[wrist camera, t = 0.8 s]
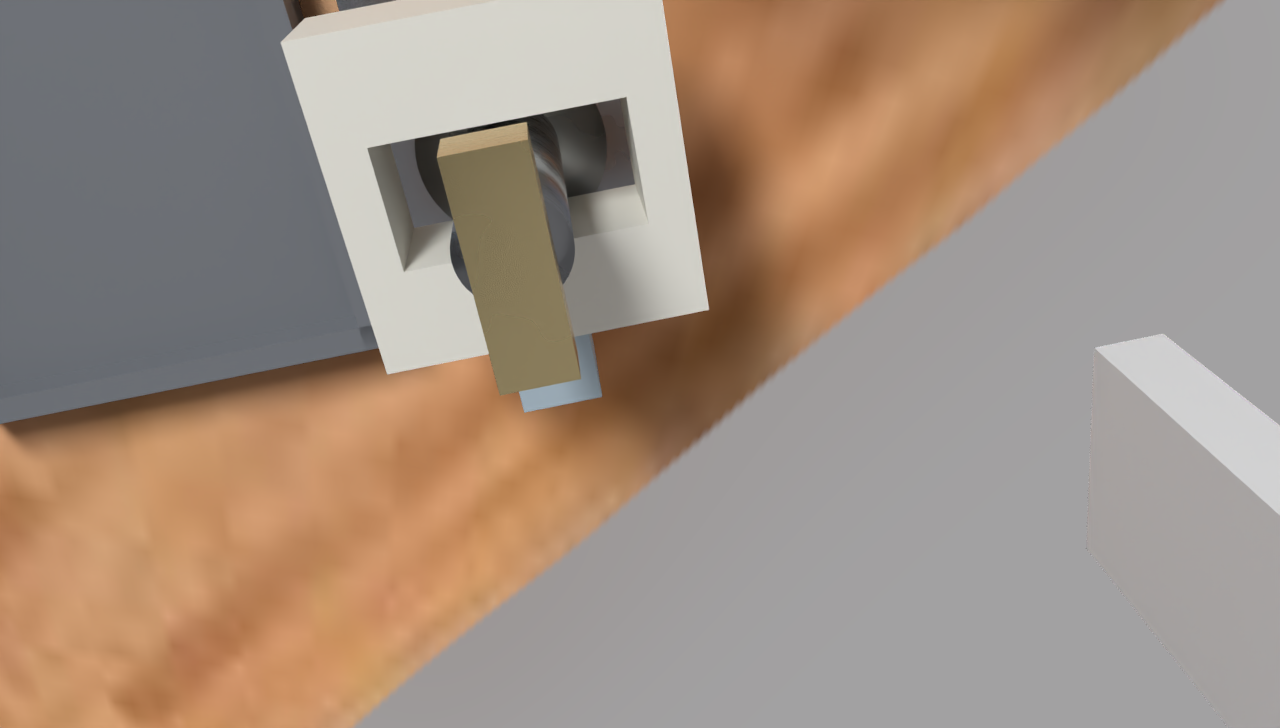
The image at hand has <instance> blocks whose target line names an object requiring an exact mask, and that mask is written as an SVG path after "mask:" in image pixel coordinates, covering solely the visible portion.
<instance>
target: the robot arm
mask: <svg viewBox="0 0 1280 728" xmlns="http://www.w3.org/2000/svg"><path fill="white" fill-rule="evenodd" d="M1086 549H1087V550H1088V551H1089V553H1090V554H1091V555H1092V556H1093V558H1094V559H1095V560H1096V561H1097V563H1098V564H1099V565H1100V567H1101V568H1102V569H1103V570H1104V572H1105V573H1106V574H1107V575H1108V577H1109V578H1110V579H1111V580H1112V582H1113V583H1114V584H1115V585H1116V587H1117V588H1118V589H1119V590H1120V592H1121V593H1122V594H1123V596H1124V597H1125V598H1126V599H1127V601H1128V602H1129V603H1130V604H1131V606H1132V607H1133V608H1134V609H1135V611H1136V612H1137V613H1138V614H1139V616H1140V617H1141V618H1142V620H1143V621H1144V622H1145V623H1146V625H1147V626H1148V627H1149V628H1150V629H1151V631H1152V632H1153V633H1154V635H1155V636H1156V637H1157V638H1158V640H1159V641H1160V642H1161V643H1162V645H1163V646H1164V647H1165V649H1166V650H1167V651H1168V652H1169V654H1170V655H1171V656H1172V657H1173V659H1174V660H1175V661H1176V662H1177V664H1178V665H1179V666H1180V667H1181V669H1182V670H1183V671H1184V672H1185V674H1186V675H1187V676H1188V677H1189V679H1190V680H1191V681H1192V683H1193V684H1194V685H1195V686H1196V688H1197V689H1198V690H1199V691H1200V693H1201V694H1202V695H1203V696H1204V698H1205V699H1206V700H1207V701H1208V703H1209V704H1210V705H1211V707H1212V708H1213V709H1214V710H1215V711H1216V713H1217V714H1218V715H1219V717H1220V718H1221V719H1222V720H1223V722H1224V723H1225V724H1226V725H1227V727H1228V728H1280V425H1278V424H1277V423H1276V422H1275V421H1273V420H1272V419H1271V418H1270V417H1268V416H1267V415H1266V414H1264V413H1263V412H1262V411H1261V410H1259V409H1258V408H1257V407H1255V406H1254V405H1253V404H1252V403H1250V402H1249V401H1248V400H1247V399H1245V398H1244V397H1243V396H1242V395H1240V394H1239V393H1238V392H1236V391H1235V390H1234V389H1233V388H1231V387H1230V386H1229V385H1227V384H1226V383H1225V382H1224V381H1222V380H1221V379H1220V378H1219V377H1217V376H1216V375H1215V374H1214V373H1212V372H1211V371H1210V370H1208V369H1207V368H1206V367H1205V366H1203V365H1202V364H1201V363H1200V362H1198V361H1197V360H1196V359H1195V358H1193V357H1192V356H1191V355H1189V354H1188V353H1187V352H1186V351H1184V350H1183V349H1182V348H1181V347H1179V346H1178V345H1177V344H1175V343H1174V342H1173V341H1172V340H1170V339H1169V338H1168V337H1166V336H1165V335H1164V334H1160V335H1155V336H1150V337H1145V338H1140V339H1135V340H1131V341H1125V342H1120V343H1115V344H1111V345H1106V346H1101V347H1096V348H1094V366H1093V392H1092V417H1091V442H1090V469H1089V493H1088V517H1087V543H1086Z"/></svg>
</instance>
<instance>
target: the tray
mask: <svg viewBox="0 0 1280 728" xmlns="http://www.w3.org/2000/svg"><path fill="white" fill-rule="evenodd" d="M303 20H304V17H303V14H302V11H301V8H300V4H299V1H298V0H0V424H2V423H7V422H12V421H17V420H22V419H27V418H32V417H37V416H42V415H47V414H52V413H57V412H62V411H67V410H72V409H77V408H82V407H87V406H92V405H97V404H102V403H107V402H112V401H117V400H122V399H127V398H132V397H137V396H142V395H147V394H152V393H157V392H162V391H167V390H172V389H177V388H182V387H187V386H192V385H197V384H202V383H207V382H212V381H217V380H222V379H227V378H232V377H237V376H242V375H247V374H252V373H257V372H262V371H267V370H272V369H277V368H282V367H287V366H292V365H297V364H302V363H307V362H312V361H317V360H322V359H327V358H332V357H337V356H342V355H347V354H352V353H357V352H362V351H367V350H372V349H377V348H379V347H378V344H377V341H376V338H375V335H374V332H373V328H372V325H371V322H370V319H369V316H368V313H367V310H366V307H365V304H364V300H363V297H362V294H361V291H360V288H359V285H358V282H357V279H356V276H355V272H354V269H353V266H352V263H351V260H350V257H349V254H348V251H347V248H346V245H345V241H344V238H343V235H342V232H341V229H340V226H339V223H338V220H337V217H336V213H335V210H334V207H333V204H332V201H331V198H330V195H329V192H328V189H327V185H326V182H325V179H324V176H323V173H322V170H321V167H320V164H319V161H318V157H317V154H316V151H315V148H314V145H313V142H312V139H311V136H310V133H309V130H308V126H307V123H306V120H305V117H304V114H303V111H302V108H301V105H300V102H299V98H298V95H297V92H296V89H295V86H294V83H293V80H292V77H291V74H290V70H289V67H288V64H287V61H286V58H285V55H284V52H283V49H282V46H281V41H282V40H283V39H284V38H285V37H286V36H287V35H288V34H289V33H290V32H291V31H292V30H293V29H294V28H296V27H297V26H298V25H299V24H300V23H301V22H302V21H303Z"/></svg>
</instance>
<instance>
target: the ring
mask: <svg viewBox="0 0 1280 728" xmlns="http://www.w3.org/2000/svg"><path fill="white" fill-rule="evenodd" d="M281 46H282V49H283V52H284V55H285V58H286V61H287V64H288V67H289V70H290V74H291V77H292V80H293V83H294V86H295V89H296V92H297V95H298V98H299V102H300V105H301V108H302V111H303V114H304V117H305V120H306V123H307V126H308V130H309V133H310V136H311V139H312V142H313V145H314V148H315V151H316V154H317V157H318V161H319V164H320V167H321V170H322V173H323V176H324V179H325V182H326V185H327V189H328V192H329V195H330V198H331V201H332V204H333V207H334V210H335V213H336V217H337V220H338V223H339V226H340V229H341V232H342V235H343V238H344V241H345V245H346V248H347V251H348V254H349V257H350V260H351V263H352V266H353V269H354V272H355V276H356V279H357V282H358V285H359V288H360V291H361V294H362V297H363V300H364V304H365V307H366V310H367V313H368V316H369V319H370V322H371V325H372V328H373V332H374V335H375V338H376V341H377V344H378V347H379V350H380V353H381V356H382V360H383V363H384V366H385V369H386V372H387V374H392V373H397V372H402V371H407V370H412V369H417V368H422V367H427V366H432V365H437V364H442V363H447V362H452V361H457V360H462V359H467V358H472V357H477V356H482V355H487V354H489V352H488V349H487V345H486V341H485V337H484V334H483V330H482V326H481V322H480V319H479V315H478V311H477V307H476V304H475V300H474V296H473V294H472V293H471V292H470V291H468V290H467V289H466V288H465V286H464V285H463V284H462V283H461V281H460V280H459V278H458V277H457V275H456V273H455V271H454V268H453V266H452V262H451V257H450V240H451V233H452V225H453V220H452V221H447V222H442V223H437V224H432V225H427V226H422V227H417V228H414V225H413V222H412V218H411V215H410V211H409V208H408V204H407V201H406V197H405V194H404V190H403V187H402V183H401V180H400V177H399V173H398V170H397V166H396V163H395V159H394V156H393V152H392V149H391V145H390V143H395V142H400V141H405V140H410V139H415V138H420V137H425V136H431V135H436V134H441V133H446V132H451V131H456V130H461V129H466V128H471V127H476V126H481V125H487V124H492V123H497V122H502V121H507V120H512V119H517V118H522V117H527V116H532V115H537V114H543V113H548V112H553V111H558V110H563V109H568V108H573V107H578V106H583V105H588V104H593V103H599V102H604V101H609V100H614V99H619V98H620V102H621V108H622V113H623V119H624V125H625V130H626V136H627V142H628V147H629V153H630V159H631V164H632V170H633V176H634V181H635V184H634V185H629V186H624V187H619V188H613V189H608V190H603V191H598V192H593V193H588V194H583V195H578V196H573V197H568V204H569V210H570V217H571V223H572V230H573V236H574V243H575V257H574V263H573V267H572V270H571V272H570V274H569V276H568V278H567V279H566V281H565V283H564V284H563V288H564V292H565V297H566V301H567V306H568V310H569V315H570V319H571V324H572V328H573V333H574V337H575V342H576V346H577V351H578V358H579V366H580V374H581V379H579V380H574V381H570V382H565V383H560V384H555V385H550V386H545V387H540V388H535V389H530V390H525V391H520V392H519V393H520V397H521V401H522V405H523V409H524V413H525V412H530V411H535V410H539V409H544V408H549V407H554V406H559V405H564V404H569V403H574V402H579V401H584V400H589V399H594V398H599V397H602V392H601V386H600V379H599V373H598V367H597V361H596V354H595V348H594V343H593V338H592V333H596V332H601V331H606V330H611V329H616V328H621V327H626V326H631V325H636V324H641V323H646V322H651V321H656V320H661V319H666V318H671V317H676V316H681V315H686V314H691V313H696V312H701V311H706V310H709V306H708V299H707V293H706V286H705V279H704V273H703V266H702V260H701V253H700V246H699V240H698V233H697V227H696V220H695V213H694V207H693V200H692V193H691V187H690V180H689V174H688V167H687V160H686V154H685V147H684V141H683V134H682V127H681V121H680V114H679V108H678V101H677V94H676V88H675V81H674V75H673V68H672V61H671V55H670V48H669V42H668V35H667V28H666V22H665V15H664V8H663V2H662V0H396V1H391V2H385V3H380V4H375V5H370V6H365V7H360V8H355V9H349V10H344V11H339V12H334V13H329V14H324V15H318V16H313V17H308V18H305V19H304V20H303V21H302V22H301V23H300V24H299V25H298V26H297V27H296V28H294V29H293V30H292V31H291V32H290V33H289V34H288V35H287V36H286V37H285V38H284V39H283V40H282V41H281Z"/></svg>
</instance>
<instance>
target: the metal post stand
mask: <svg viewBox="0 0 1280 728" xmlns="http://www.w3.org/2000/svg"><path fill="white" fill-rule="evenodd" d="M336 1H337V5H338V8H339V11H344V10H349V9H355V8H360V7H365V6H370V5H375V4H380V3H385V2H391V1H396V0H336ZM390 145H391V149H392V152H393V156H394V159H395V163H396V166H397V170H398V173H399V177H400V180H401V183H402V187H403V190H404V194H405V197H406V201H407V204H408V208H409V211H410V215H411V218H412V222H413V225H414V228H417V227H422V226H427V225H432V224H437V223H442V222H447V221H452V220H453V225H452V233H451V240H450V257H451V262H452V266H453V268H454V271H455V273H456V275H457V277H458V278H459V280H460V281H461V283H462V284H463V285H464V286H465V288H466V289H467V290H468V291H470V292H471V293H472V294H473V296H474V300H475V304H476V307H477V311H478V315H479V319H480V322H481V326H482V330H483V334H484V337H485V341H486V345H487V349H488V352H489V356H490V360H491V364H492V367H493V371H494V375H495V379H496V382H497V386H498V390H499V394H500V395H505V394H510V393H515V392H520V391H525V390H530V389H535V388H540V387H545V386H550V385H555V384H560V383H565V382H570V381H574V380H579V379H581V374H580V366H579V358H578V351H577V346H576V342H575V337H574V333H573V328H572V324H571V319H570V315H569V310H568V306H567V301H566V297H565V292H564V288H563V284H564V283H565V281H566V279H567V278H568V276H569V274H570V272H571V270H572V267H573V263H574V257H575V243H574V236H573V230H572V223H571V217H570V210H569V204H568V197H573V196H578V195H583V194H588V193H593V192H598V191H603V190H608V189H613V188H619V187H624V186H629V185H634V184H635V181H634V176H633V170H632V164H631V159H630V153H629V147H628V142H627V136H626V130H625V125H624V119H623V113H622V108H621V102H620V98H619V99H614V100H609V101H604V102H599V103H593V104H588V105H583V106H578V107H573V108H568V109H563V110H558V111H553V112H548V113H543V114H537V115H532V116H527V117H522V118H517V119H512V120H507V121H502V122H497V123H492V124H487V125H481V126H476V127H471V128H466V129H461V130H456V131H451V132H446V133H441V134H436V135H431V136H425V137H420V138H415V139H410V140H405V141H400V142H395V143H390Z"/></svg>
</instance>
